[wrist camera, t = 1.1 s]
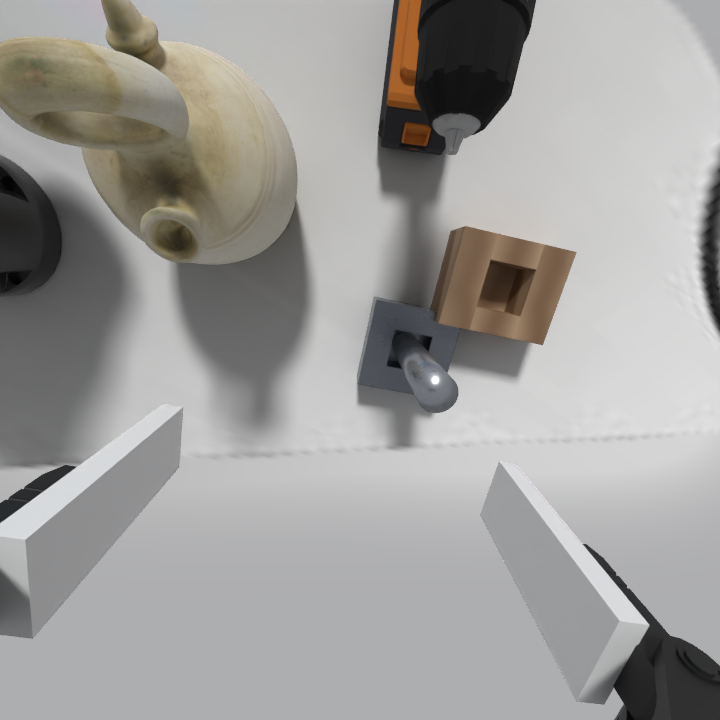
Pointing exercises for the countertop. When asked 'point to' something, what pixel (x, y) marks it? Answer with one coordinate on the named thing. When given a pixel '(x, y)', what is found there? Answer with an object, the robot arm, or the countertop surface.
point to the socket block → (385, 326)
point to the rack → (500, 284)
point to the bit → (425, 374)
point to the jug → (161, 135)
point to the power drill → (449, 69)
